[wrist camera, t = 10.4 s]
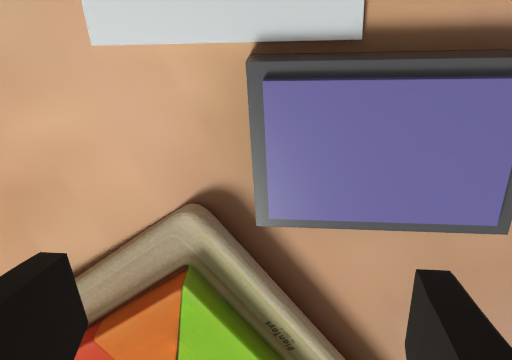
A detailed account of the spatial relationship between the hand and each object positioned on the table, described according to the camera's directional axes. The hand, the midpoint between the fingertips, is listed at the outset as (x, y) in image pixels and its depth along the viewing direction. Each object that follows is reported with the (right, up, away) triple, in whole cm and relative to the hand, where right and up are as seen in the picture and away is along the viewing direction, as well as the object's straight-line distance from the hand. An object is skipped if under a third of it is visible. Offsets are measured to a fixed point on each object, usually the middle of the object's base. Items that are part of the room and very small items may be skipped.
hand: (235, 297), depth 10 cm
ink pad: (+5, +4, +8) cm, 11 cm away
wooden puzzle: (-4, -8, +18) cm, 20 cm away
